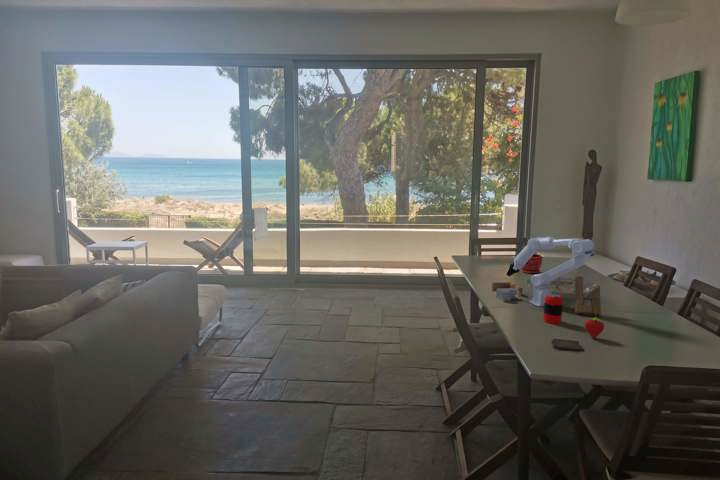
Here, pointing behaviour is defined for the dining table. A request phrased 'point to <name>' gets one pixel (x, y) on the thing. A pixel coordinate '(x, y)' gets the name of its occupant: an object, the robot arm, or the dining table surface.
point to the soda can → (553, 309)
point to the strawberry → (594, 327)
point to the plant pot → (533, 264)
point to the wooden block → (593, 296)
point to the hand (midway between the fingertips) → (509, 272)
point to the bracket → (506, 294)
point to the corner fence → (507, 285)
